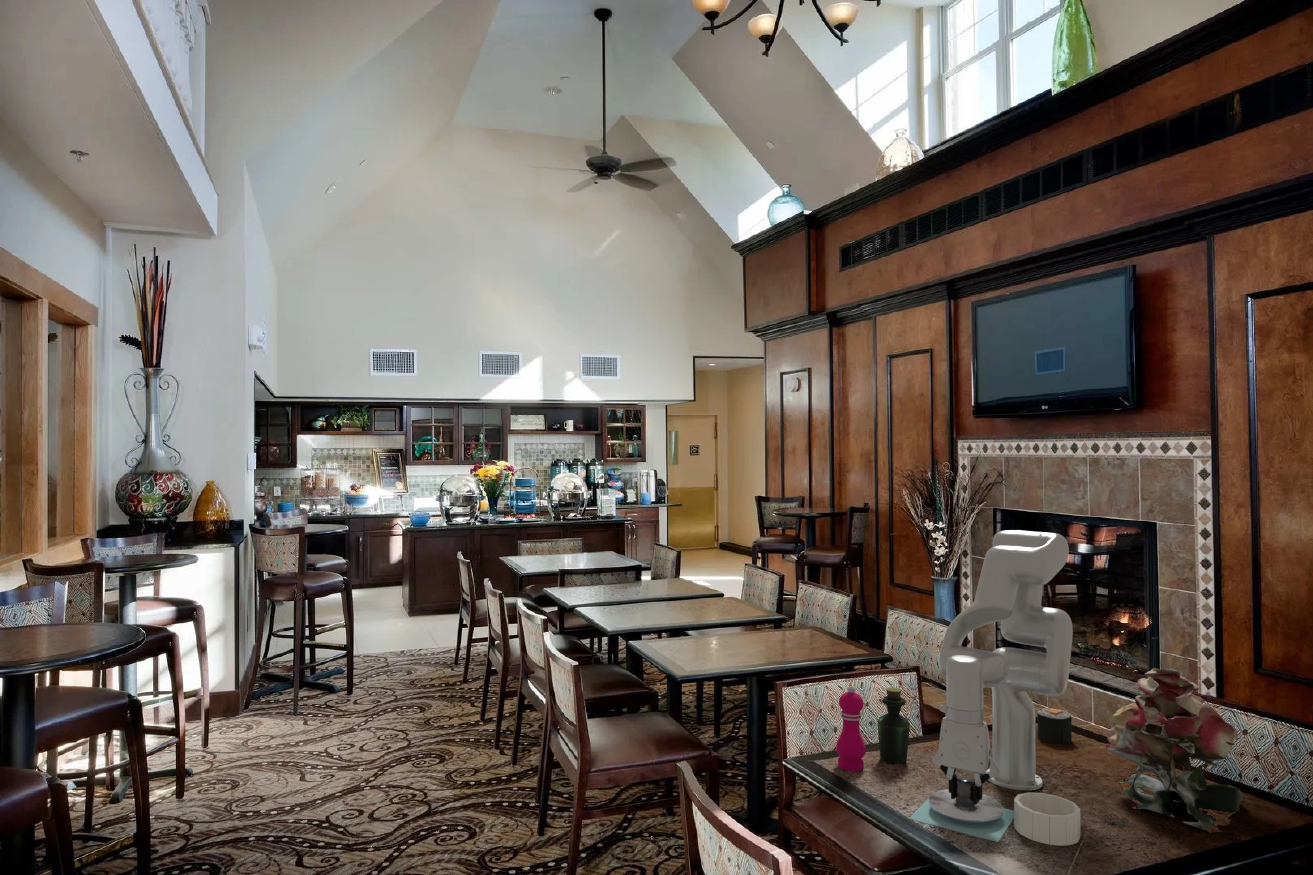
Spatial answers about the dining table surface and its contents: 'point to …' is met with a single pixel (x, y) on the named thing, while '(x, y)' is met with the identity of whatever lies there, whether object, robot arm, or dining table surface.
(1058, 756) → the dining table surface
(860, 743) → the pepper mill
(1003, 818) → the teal mat
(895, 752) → the potion bottle
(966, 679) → the robot arm
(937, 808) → the metal lid
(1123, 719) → the rose bouquet
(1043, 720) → the sushi
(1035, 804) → the white faceted bowl
